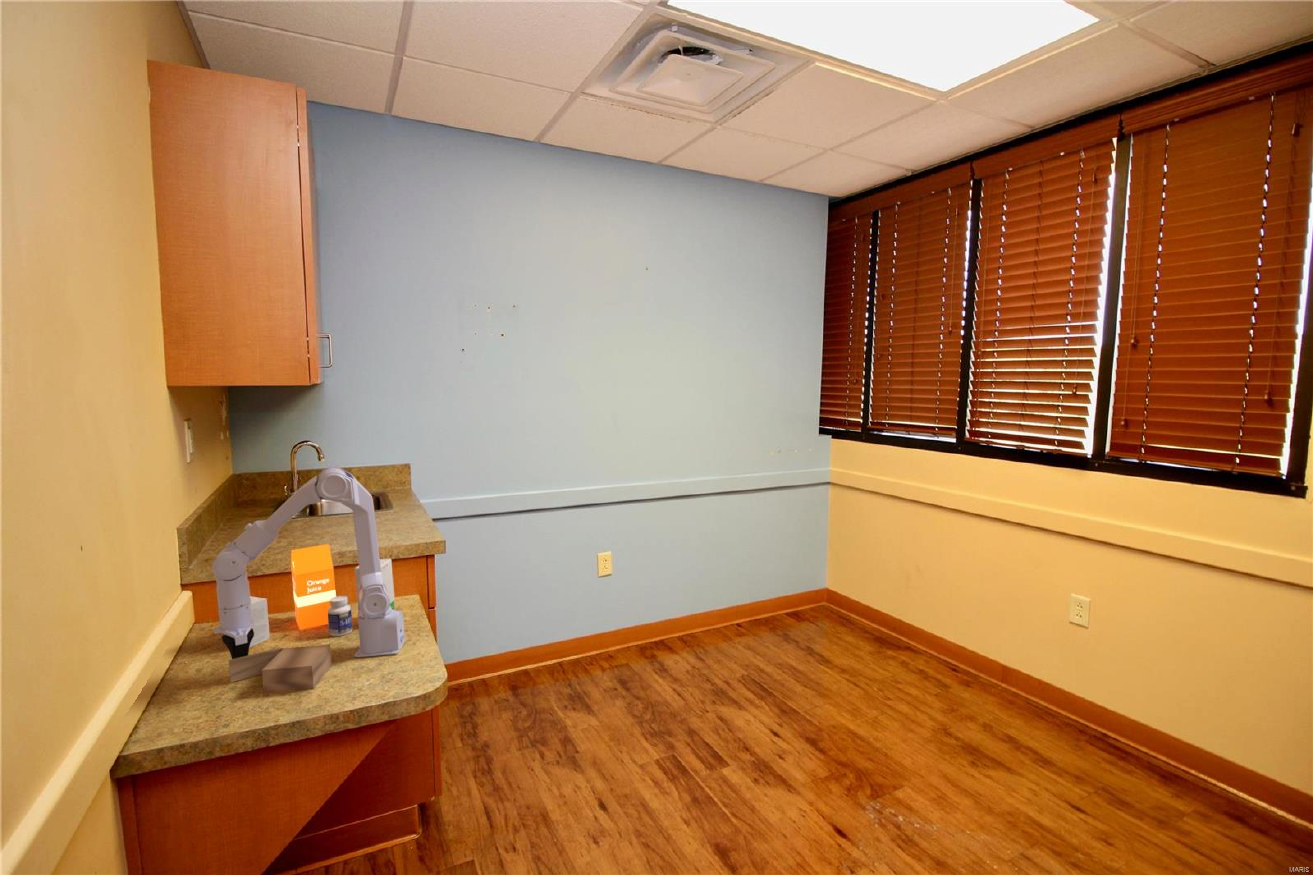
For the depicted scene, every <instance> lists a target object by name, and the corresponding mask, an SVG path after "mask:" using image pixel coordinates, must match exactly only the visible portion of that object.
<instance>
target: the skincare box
mask: <svg viewBox="0 0 1313 875" xmlns="http://www.w3.org/2000/svg"><path fill="white" fill-rule="evenodd" d="M380 565H381V574H382V580H383V583H384V584H385V586H386V588H387V594H388V596H389V599H390V606H391V609H392V610H396V602H395V601H396V599H395V588H394V575H393V563H392V558H383V559H382V558H380ZM354 574H355V585H356V597H357V598H356V599H357V609H358V611H357V613H358V612H359V611H360V601H359V598H358V590H359V588H360V585H361V579H360V569H359V565H358V566H356V567H354Z"/></svg>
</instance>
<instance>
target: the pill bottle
mask: <svg viewBox="0 0 1313 875" xmlns="http://www.w3.org/2000/svg"><path fill="white" fill-rule="evenodd" d="M348 603H349V599H348V596H347V595H336V597H333V598H331V599H330V606H331V607H330V608H329V609H328V625H327V626H328V633H329V636H331V637H341V636H345V635H348V634H351V633H352V631H353V618H352V617H353V615H352V607H351V605H350V604H348Z"/></svg>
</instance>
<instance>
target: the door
mask: <svg viewBox="0 0 1313 875" xmlns="http://www.w3.org/2000/svg"><path fill="white" fill-rule="evenodd" d="M283 648H284V647H282V648H280V647H276V648H272V649H268V650H263V651H260V652H257V653H256V652H255V653H251V654H248V655H247V656H243V657H239V658H235V659H232V658H231V659H228V667H229V678H230V683H233V682H237V681H241V680H246V679H248V678H253V677H255V676H256V677H257V676H259V675H262V669H263V668H264V667H265V666H266V665H267V664H268V663H269V662H270V661H271V660H272V659H273V658H274V657H275V656H276V655H277V654H278V653H279V652H280V651H281V650H282V649H283Z"/></svg>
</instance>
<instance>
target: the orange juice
mask: <svg viewBox="0 0 1313 875" xmlns="http://www.w3.org/2000/svg"><path fill="white" fill-rule="evenodd" d="M330 548H331V547H330V544H321V545H315V546H310V547H309V546H308V547H304V548H298V549H292V550H291V567H290V568H291V578H292V588H293V589H292V591H293V601H294V611H295V612H294V613H295V622H296V623H297V626H298V629H299V630H300V631H301V630H306V629H311V628H315V627H319V626H323V625H327V624H328V609H329V608H330V607H331V606H330V599H331V598H333V597H336V596H337V594H336V584H335V572H334V565H333V560H332V555H331V549H330Z"/></svg>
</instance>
